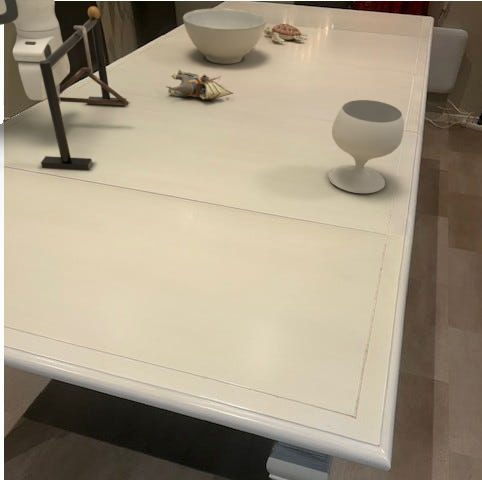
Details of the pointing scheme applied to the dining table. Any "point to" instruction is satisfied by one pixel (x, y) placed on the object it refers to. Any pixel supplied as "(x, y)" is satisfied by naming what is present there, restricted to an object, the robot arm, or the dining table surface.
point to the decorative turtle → (284, 33)
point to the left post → (100, 58)
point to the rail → (54, 106)
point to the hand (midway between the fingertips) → (55, 105)
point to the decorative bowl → (224, 32)
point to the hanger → (89, 72)
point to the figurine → (197, 86)
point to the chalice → (365, 142)
